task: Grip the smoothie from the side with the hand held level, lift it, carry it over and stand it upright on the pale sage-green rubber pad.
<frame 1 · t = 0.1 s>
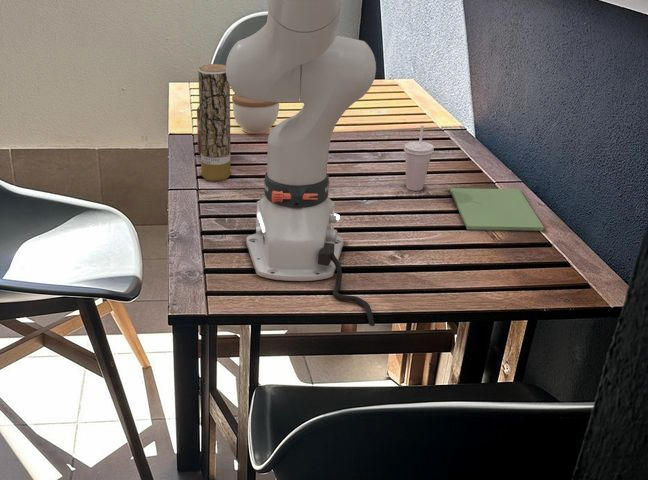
lidded bowl: (255, 130, 218), on the table
paper tube: (216, 177, 189), on the table
soda can: (212, 155, 202), on the table
pad: (494, 210, 170), on the table
smoothie: (414, 188, 182), on the table
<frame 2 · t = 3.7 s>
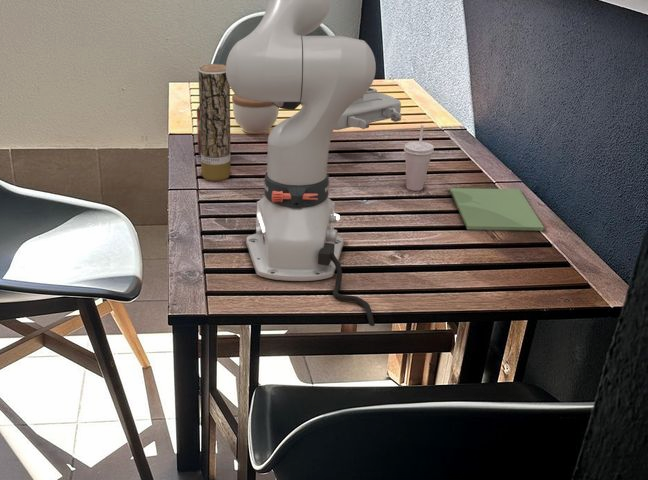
hand: (383, 121, 184), 12 cm above the table, tool horizontal, fingers open, 8 cm apart
nothing on the table moved.
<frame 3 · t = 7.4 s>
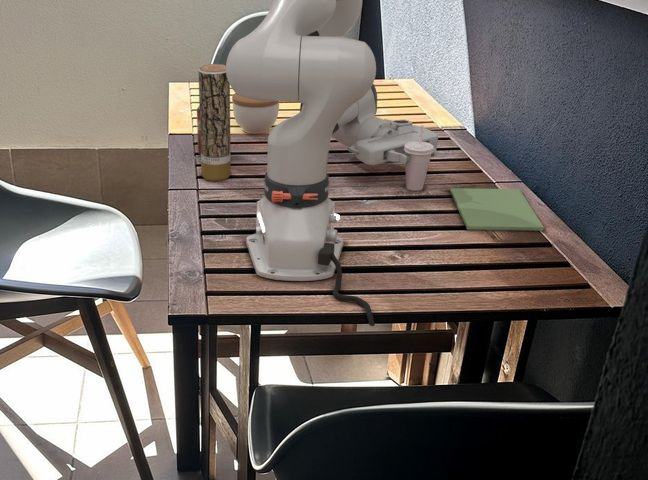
hand: (420, 156, 177), 7 cm above the table, tool horizontal, fingers closed on smoothie, 6 cm apart
smoothie: (414, 188, 182), on the table, touching gripper
everything else where it was.
when the fingers open (8 cm above the table, at t = 15.0 s): smoothie stays where it is, resting on pad.
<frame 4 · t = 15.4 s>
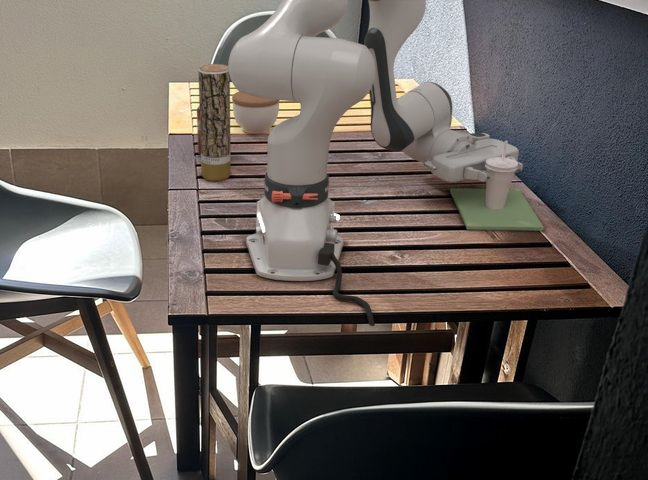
hand: (504, 173, 165), 9 cm above the table, tool horizontal, fingers open, 8 cm apart
smoothie: (494, 207, 170), point 1 cm above the table, touching pad
everything else where it was.
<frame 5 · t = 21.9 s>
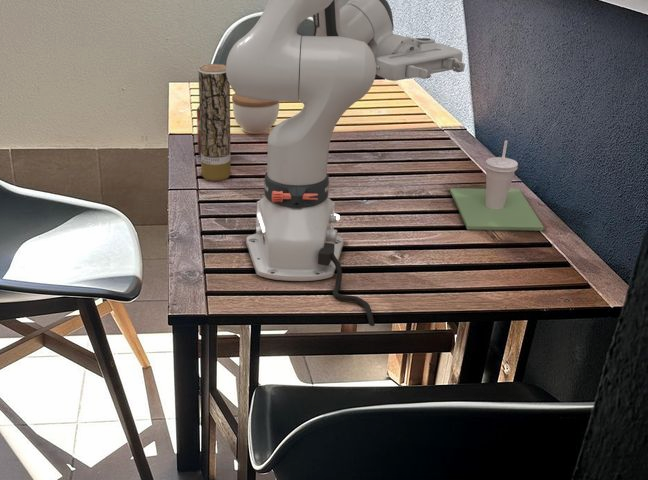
hand: (445, 71, 167), 26 cm above the table, tool horizontal, fingers open, 8 cm apart
nothing on the table moved.
at the end: smoothie inside the target area on the pad (0.2 cm from its centre), point 0.6 cm above the pad's base; smoothie tilted 0°; the gripper is holding nothing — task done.
